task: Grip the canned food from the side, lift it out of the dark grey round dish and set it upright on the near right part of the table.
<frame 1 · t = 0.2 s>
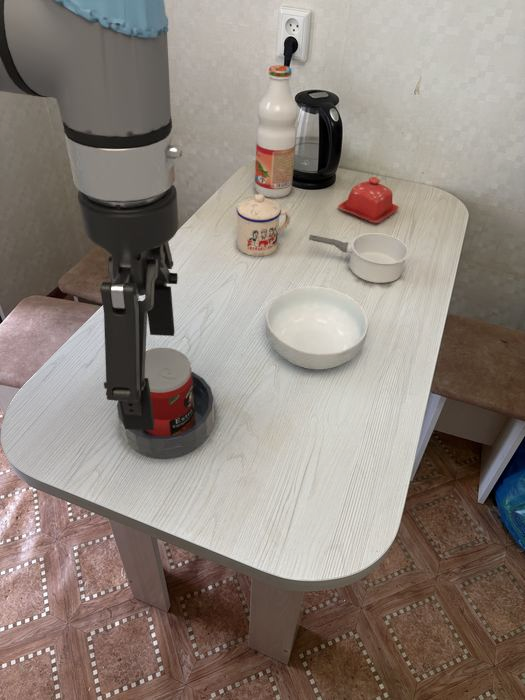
hand: (152, 375, 54), 20 cm above the table, tool pointing down, fingers open, 13 cm apart
dark grey round dish: (168, 421, 74), on the table
canned food: (168, 420, 74), resting on dark grey round dish
fruit juice: (272, 190, 128), on the table
cereal bowl: (312, 348, 87), on the table
teacup with lid: (263, 245, 110), on the table
saucepan: (353, 268, 105), on the table
butter dish: (367, 212, 122), on the table
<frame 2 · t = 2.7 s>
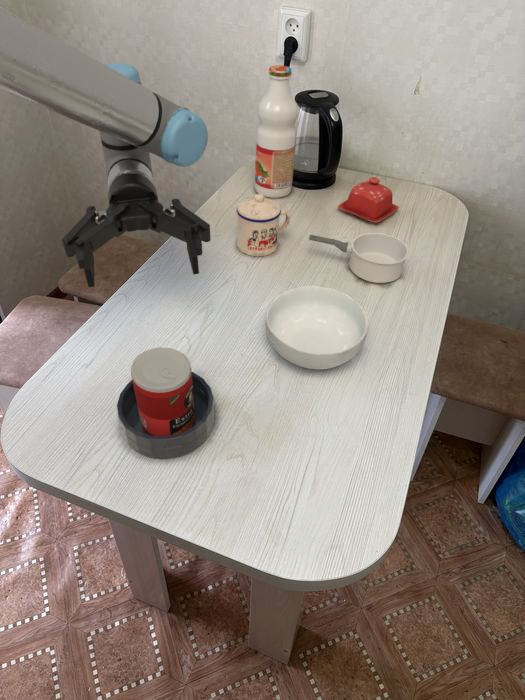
hand: (143, 272, 66), 20 cm above the table, tool horizontal, fingers open, 13 cm apart
nothing on the table moved.
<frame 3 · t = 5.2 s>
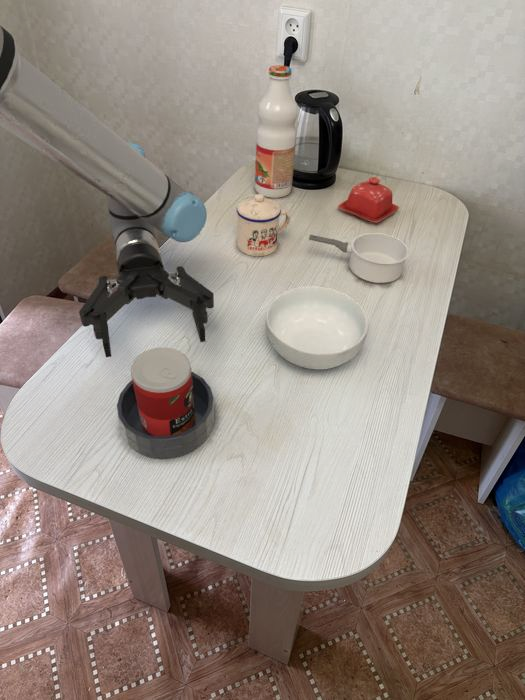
hand: (155, 342, 72), 9 cm above the table, tool horizontal, fingers open, 13 cm apart
nothing on the table moved.
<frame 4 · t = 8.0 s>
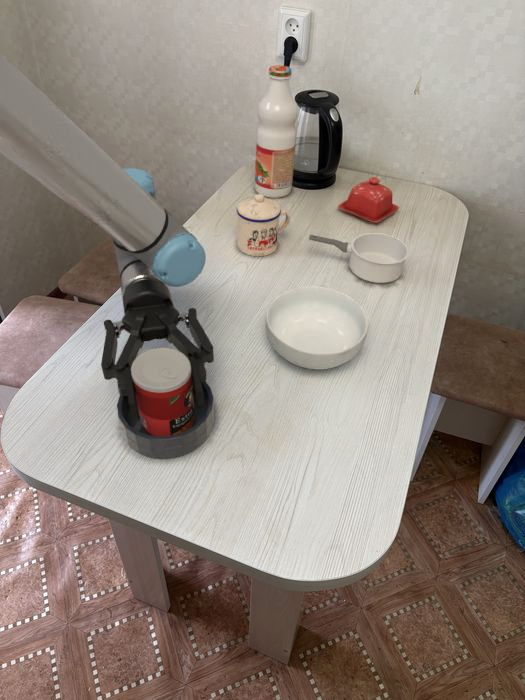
hand: (167, 404, 64), 9 cm above the table, tool horizontal, fingers closed on canned food, 8 cm apart
canned food: (168, 420, 74), resting on dark grey round dish, touching gripper
everything else where it was.
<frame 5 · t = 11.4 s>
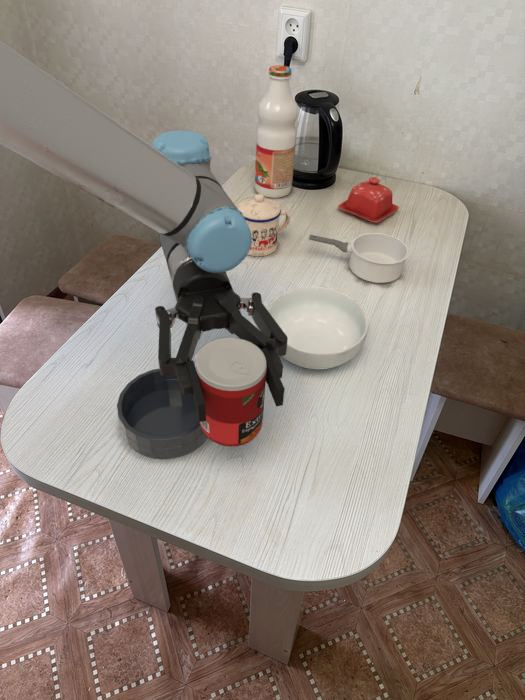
hand: (241, 405, 53), 18 cm above the table, tool horizontal, fingers closed on canned food, 8 cm apart
canned food: (231, 424, 63), point 9 cm above the table, touching gripper
everything else where it was.
when the fingers open (9 cm above the table, at t = 14.7 s): canned food stays where it is, on the table.
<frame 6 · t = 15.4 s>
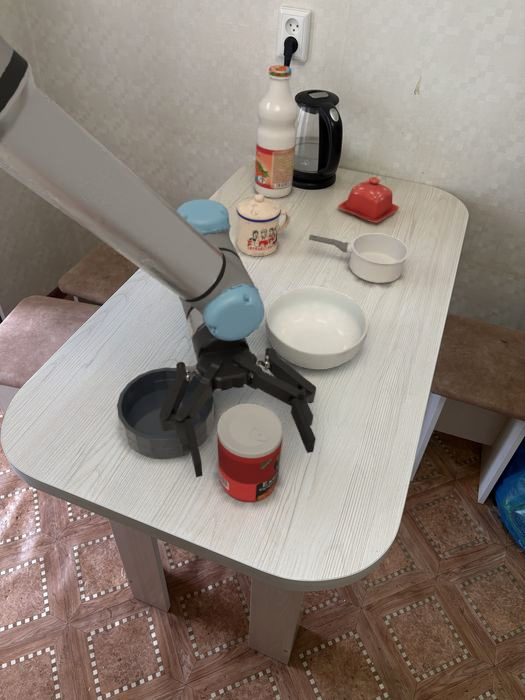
hand: (256, 458, 59), 9 cm above the table, tool horizontal, fingers open, 13 cm apart
canned food: (248, 478, 68), on the table
everything else where it was.
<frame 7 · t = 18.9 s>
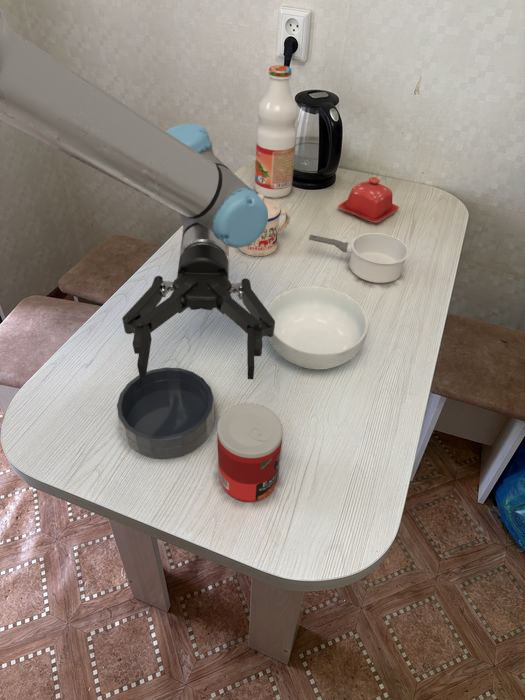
hand: (196, 372, 63), 13 cm above the table, tool horizontal, fingers open, 13 cm apart
nothing on the table moved.
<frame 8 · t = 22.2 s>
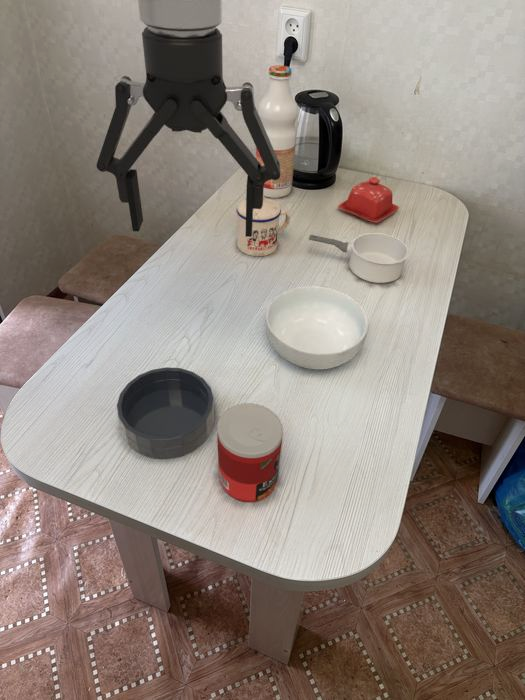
hand: (193, 228, 62), 27 cm above the table, tool pointing down, fingers open, 13 cm apart
nothing on the table moved.
at the end: canned food inside the target area (0.0 cm from its centre), on the table; canned food tilted 0°; the gripper is holding nothing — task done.
